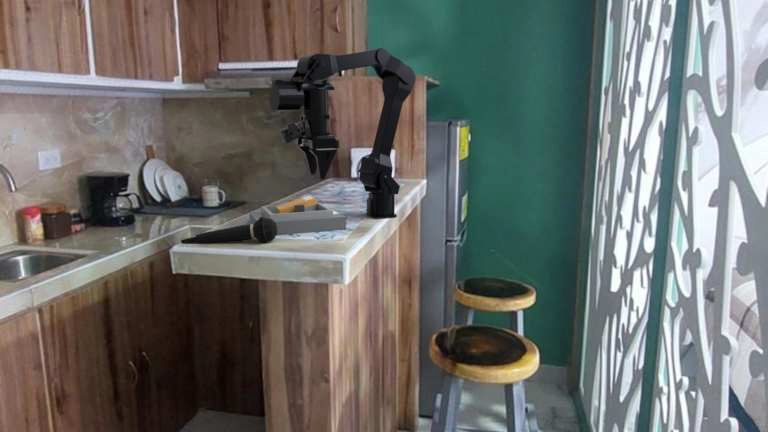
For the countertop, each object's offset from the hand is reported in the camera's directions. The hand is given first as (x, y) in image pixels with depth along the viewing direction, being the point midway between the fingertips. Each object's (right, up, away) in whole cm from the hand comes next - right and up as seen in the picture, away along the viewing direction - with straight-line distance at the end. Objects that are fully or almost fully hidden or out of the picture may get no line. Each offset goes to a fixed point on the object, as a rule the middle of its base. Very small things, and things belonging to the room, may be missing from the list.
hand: (317, 176), depth 125 cm
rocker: (-5, -7, -1) cm, 9 cm away
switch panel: (-5, -12, 0) cm, 13 cm away
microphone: (-16, -15, -15) cm, 27 cm away
